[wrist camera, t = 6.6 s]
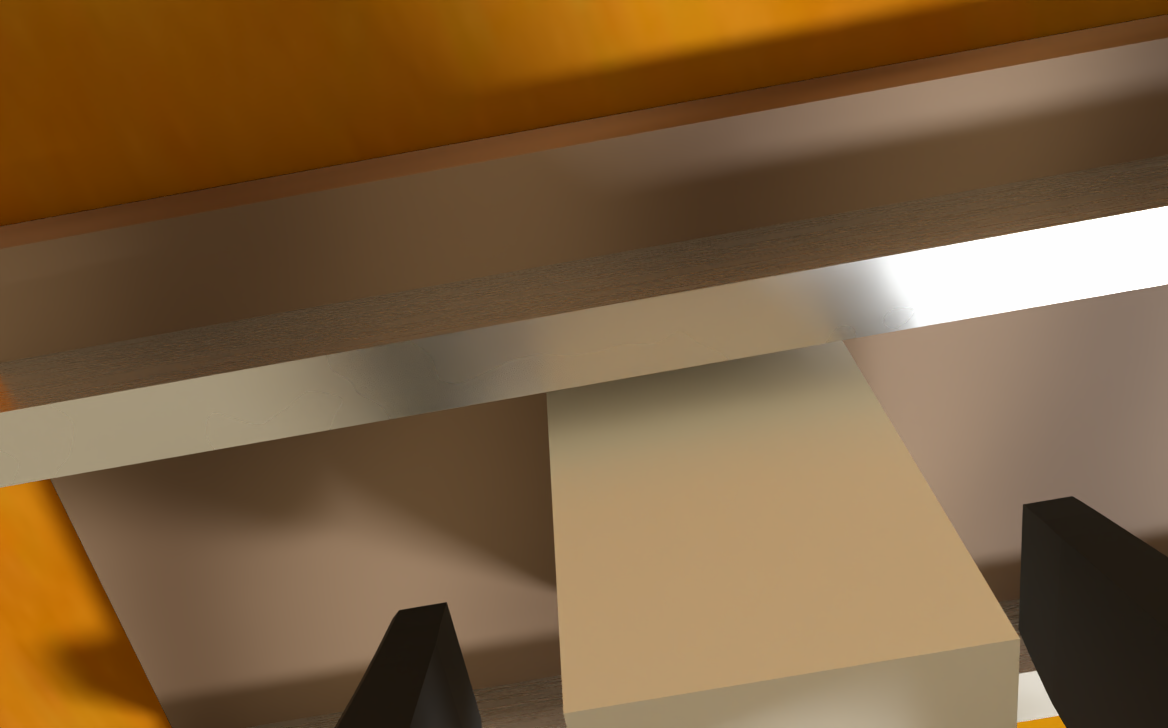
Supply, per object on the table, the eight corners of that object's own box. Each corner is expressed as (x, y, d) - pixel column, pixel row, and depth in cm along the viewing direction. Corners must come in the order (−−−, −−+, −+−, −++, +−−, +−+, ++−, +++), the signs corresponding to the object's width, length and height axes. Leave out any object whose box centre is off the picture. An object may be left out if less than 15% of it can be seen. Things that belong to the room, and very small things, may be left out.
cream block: (836, 330, 15) (1019, 637, 9) (849, 561, 16) (1009, 926, 11) (545, 380, 15) (563, 712, 9) (592, 604, 17) (628, 985, 11)
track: (1342, -18, 14) (1501, 18, 12) (1238, 628, 19) (1333, 738, 17) (-22, 230, 14) (-121, 310, 12) (240, 793, 19) (205, 921, 17)
